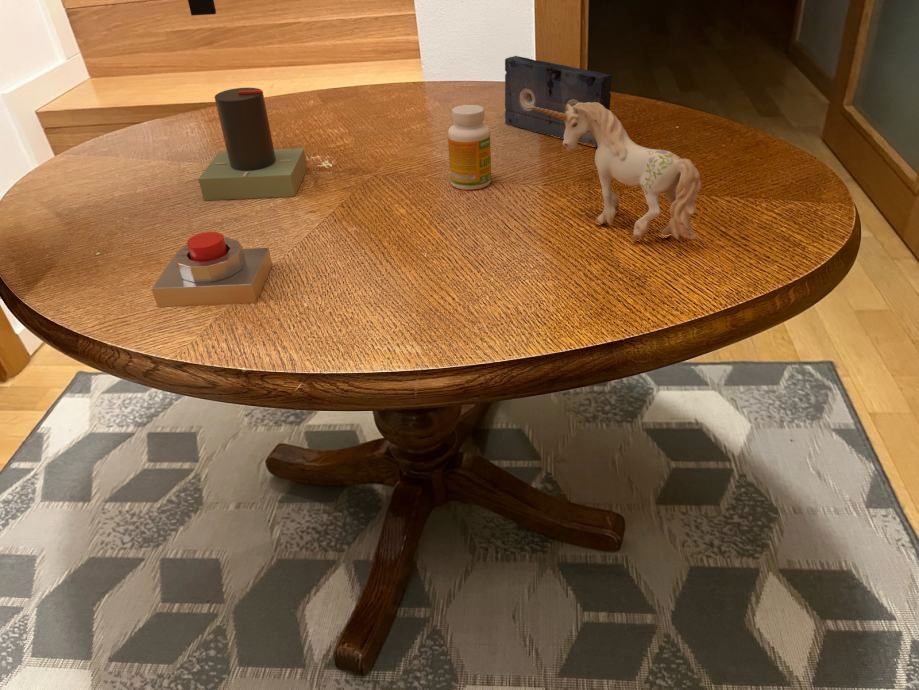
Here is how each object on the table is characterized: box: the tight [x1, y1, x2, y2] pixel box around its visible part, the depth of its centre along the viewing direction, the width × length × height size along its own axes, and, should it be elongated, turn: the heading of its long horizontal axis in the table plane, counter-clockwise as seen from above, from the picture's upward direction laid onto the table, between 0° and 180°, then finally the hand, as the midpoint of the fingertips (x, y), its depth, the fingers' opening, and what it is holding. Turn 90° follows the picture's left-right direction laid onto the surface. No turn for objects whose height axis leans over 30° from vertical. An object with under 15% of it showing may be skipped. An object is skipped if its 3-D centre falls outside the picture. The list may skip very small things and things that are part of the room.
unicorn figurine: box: [531, 102, 702, 242], centre depth 80 cm, size 7×20×13 cm, turn 55°
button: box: [186, 231, 227, 261], centre depth 74 cm, size 4×4×2 cm
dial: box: [214, 87, 276, 171], centre depth 95 cm, size 6×6×9 cm
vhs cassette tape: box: [504, 55, 613, 146], centre depth 108 cm, size 18×3×10 cm, turn 42°
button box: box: [151, 236, 273, 308], centre depth 75 cm, size 10×8×4 cm
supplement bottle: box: [447, 104, 492, 191], centre depth 94 cm, size 5×5×10 cm
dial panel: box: [197, 147, 308, 201], centre depth 99 cm, size 12×10×3 cm
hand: (218, 4), depth 90 cm, fingers open, 13 cm apart
